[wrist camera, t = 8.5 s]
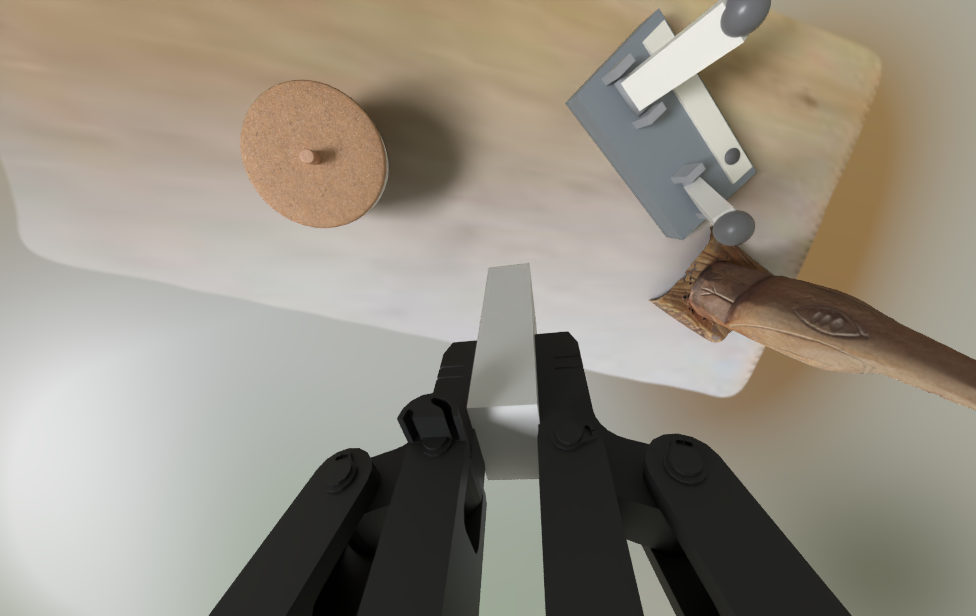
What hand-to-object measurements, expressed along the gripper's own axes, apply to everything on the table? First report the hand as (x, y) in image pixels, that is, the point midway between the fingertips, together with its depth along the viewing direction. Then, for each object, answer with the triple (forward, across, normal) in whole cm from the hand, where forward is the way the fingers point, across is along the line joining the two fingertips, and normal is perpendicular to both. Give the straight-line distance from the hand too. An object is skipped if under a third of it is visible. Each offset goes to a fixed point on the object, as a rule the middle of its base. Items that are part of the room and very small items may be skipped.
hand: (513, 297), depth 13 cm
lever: (+26, +18, -6) cm, 32 cm away
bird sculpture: (+29, +22, -19) cm, 41 cm away
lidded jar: (+24, -17, +3) cm, 30 cm away
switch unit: (+31, +15, -1) cm, 34 cm away
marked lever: (+27, +11, +4) cm, 29 cm away
